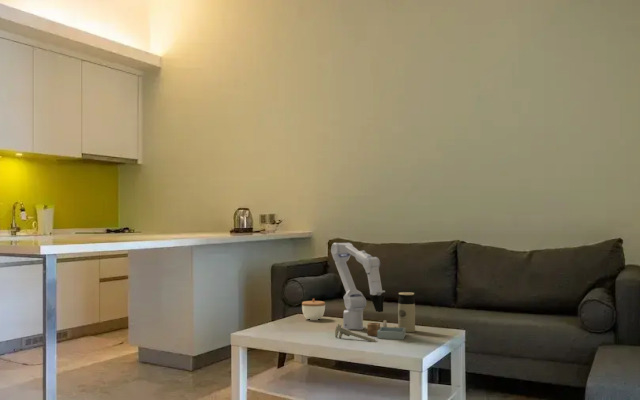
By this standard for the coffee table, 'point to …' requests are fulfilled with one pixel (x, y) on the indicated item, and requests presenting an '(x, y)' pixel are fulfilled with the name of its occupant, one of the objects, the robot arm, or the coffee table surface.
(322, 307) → the lidded bowl
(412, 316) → the travel mug
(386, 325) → the grey peg base
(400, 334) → the tray
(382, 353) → the coffee table surface
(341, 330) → the caliper
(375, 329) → the block
